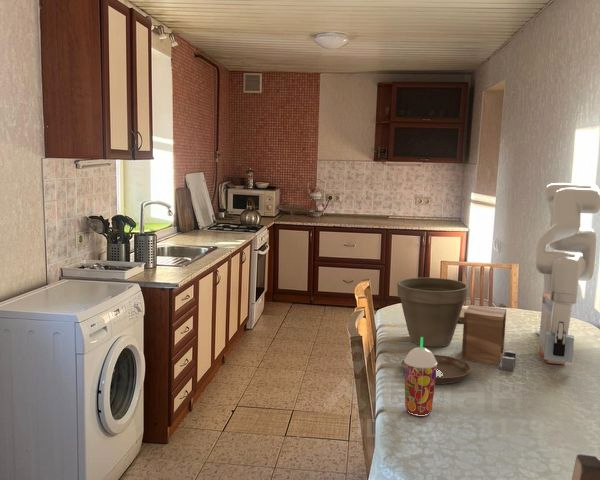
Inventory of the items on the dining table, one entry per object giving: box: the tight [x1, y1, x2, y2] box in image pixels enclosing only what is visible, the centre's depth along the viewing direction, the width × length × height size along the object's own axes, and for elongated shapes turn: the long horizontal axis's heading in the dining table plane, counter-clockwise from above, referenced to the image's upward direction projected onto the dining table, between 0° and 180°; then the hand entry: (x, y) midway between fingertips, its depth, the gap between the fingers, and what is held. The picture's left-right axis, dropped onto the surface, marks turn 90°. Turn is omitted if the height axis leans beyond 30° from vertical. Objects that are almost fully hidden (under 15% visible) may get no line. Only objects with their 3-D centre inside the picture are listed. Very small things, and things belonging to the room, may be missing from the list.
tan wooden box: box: [461, 304, 507, 366], centre depth 189 cm, size 12×12×16 cm
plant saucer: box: [400, 354, 471, 384], centre depth 173 cm, size 21×21×3 cm
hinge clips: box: [498, 350, 517, 372], centre depth 181 cm, size 8×4×4 cm, turn 155°
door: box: [543, 332, 575, 364], centre depth 176 cm, size 3×8×8 cm, turn 65°
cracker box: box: [537, 293, 566, 365], centre depth 189 cm, size 14×6×21 cm, turn 168°
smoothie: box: [403, 337, 438, 415], centre depth 144 cm, size 8×8×20 cm
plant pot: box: [396, 277, 469, 348], centre depth 205 cm, size 25×25×22 cm
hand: (558, 353), depth 177 cm, fingers closed on door, 3 cm apart
